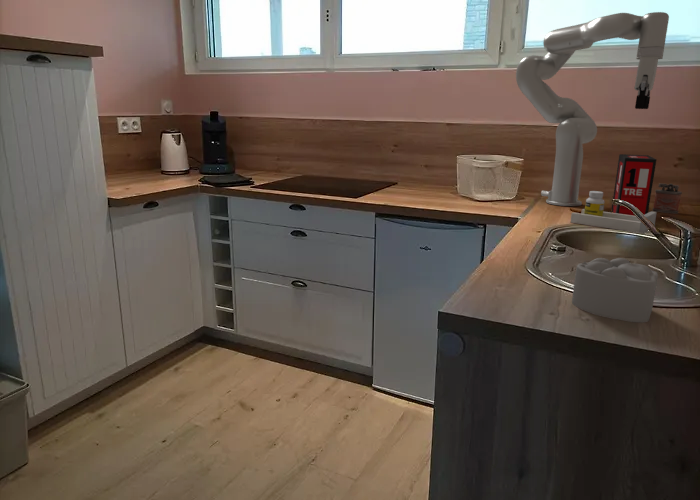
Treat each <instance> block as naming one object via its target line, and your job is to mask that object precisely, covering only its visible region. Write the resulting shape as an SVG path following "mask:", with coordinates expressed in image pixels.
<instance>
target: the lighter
mask: <svg viewBox="0 0 700 500" xmlns="http://www.w3.org/2000/svg"><path fill="white" fill-rule="evenodd" d="M658 188H662V189H655V195H654V203H653V207H652V212H657V213H658V212H659V213H664V214H665V213H666V214H674V215H675V214H679V208H680V200H681V195H683V193H682V191H679V188H680V186H679V185H676V184H673V183H669V184H667V183H660V182H659V183H658Z"/></svg>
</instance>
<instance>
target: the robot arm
mask: <svg viewBox="0 0 700 500" xmlns="http://www.w3.org/2000/svg"><path fill="white" fill-rule="evenodd" d="M669 19H670V16H669V14H668V12H666V11H665V12H663V11H656V12H655V11H654V12H648V13H646V14H644V15H642V16H641V15H637V14H633V13H629V12H618V13H614V14H607V15H605V16H604V15H603V16H599V17H597V18H594V19H592V20H589V21H588V22H583V23H580V24H576V25H570V26H565V27H561V28H556V29H553V30H551V31H549V32H548V33H546V35H545V37H544V38H543V43H542V44H543V48H544V49H545V51H546V52H547V53H546V54H545V55H543V56H542V55H534V54H533V55H527V56H525V57H523V58H522V59H521V60H520V61H519V63H518V64H517V66H516V72H515V80H516V81H515V82H516V85H517V86H518V89H519V90H520V92H521V93H522V94H523V95H524V96H525V98H526V99H527V100H528V101H529V102H530V104H531V105H532V106H533V107H534V108H535V109H536V111H537V112H538V113H539V114H540V115H541V117H542V118H543V119H544V120H545V121H546V122H548V123H550V124H558V125H557V127H556V130H555V155H554V156H555V157H554V158H555V159H554V167H553V168H554V169H553V177H552V186H551V190H549V191H548V190H541V192H540V195H541V196H543V197H547V198H546V200H545V202H546V203H547V204H550V205H553V206H554V205H555V206H561V207H579V206H582V202H583V201H582V200H579V191H580V184H581V176H582V168H583V159H584V150H583V149H584V146H583V145H584V144H588V143H591V142H592V141H593V140H594V139H595V138H596V137H597V135H598V134H597V133H598V127H597V124H596V121H595V120H594V119H592V117H591V116H590V115H589V114H588V113H587V111H586V110H584V108H583V107H582V106H581V105H580V104H579V103H578V102H577V101H576V100H575V99H572V98H569V97H562V96H559V95H558V94H557V93H556V92H555V91H554V90H553V89H552V88H551V87H550V85H548V84H547V83H546V82H545V80H549V79H551V78H552V79H553V77H554V76H555V75H556V74H557V73H558V72H559V71H560V70H561V69H562V68H563V66H565V64H567V62H568V61H569V59H570V58H571V57H572V56H573V55H574V53H575V52H576V51H581V50H586V49H589V48H591V47H592V46H593V45H594V44H595V43H597V42H601V41H606V40H611V39H624V40H628V41H635V40H638V47H637V52H636V58H635V60H639V61H638V64H637V71H636V78H635V82H634V86H633V87H634V90H635V91H637V95H636V97H635V99H636V100H635V106H634V109H635V110H648V109H649V106H650V99H651V91H652V90H653V88H654V84H655V80H656V75H657V70H658V69H657V68H658V63H659V60H663V57H664V53H665V45H666V39H667V33H668V27H669Z"/></svg>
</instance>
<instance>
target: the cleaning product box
mask: <svg viewBox="0 0 700 500" xmlns="http://www.w3.org/2000/svg"><path fill="white" fill-rule="evenodd" d="M656 165H657V159H656V158H654V157H653V156H651V155H648V154H618V161H617V170H616V177H615V184H614V189H613V197H612V200H613V199H620V200H624V201H627V202H629V203H631V204H633V205H634V206H635V207H637V208H638V209H639V210H640V211H641V212H642V213H643V214H644V215H645V214H647V213H649V209H650V203H651V202H650V201H651V196H652V190H653V184H654V177H655V171H656V167H657V166H656ZM611 210H612V211H611V213H612V212H613V213H618V214H625V215H633V216H635V215H634V214H633V212H632V211H631V210H629V209H628V208H626V207H624V206H620V205H616V206H615V205H613V204H612V205H611Z"/></svg>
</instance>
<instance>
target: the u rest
mask: <svg viewBox="0 0 700 500" xmlns="http://www.w3.org/2000/svg"><path fill="white" fill-rule="evenodd" d="M584 212H585V208H582V209H581V213H579V212H571V215H570V221H569V222H570V223H573V224H579V225H585V226H592V227H598V228H605V229H611V230H618V231H624V232H625V231H626V232H631V233H638V234H646V233H648V232H649V231H648V229H647V228H646V226H645V225H644V224H643V223H642V222H641V221H640V220H639V219H638V218H637V217H636V216H633V215H625V214H618V213H612V212H611V211H609V212H608V211H603V217H602V216H595V215H588V214H584ZM657 213H658V212H655V211H648V213H647V214H645V215H644V216H645V217H646V218H647V219H648V220H650V221H651V222H652V223H653V224H654V226H656V225H655V223H656V218H657Z"/></svg>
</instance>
